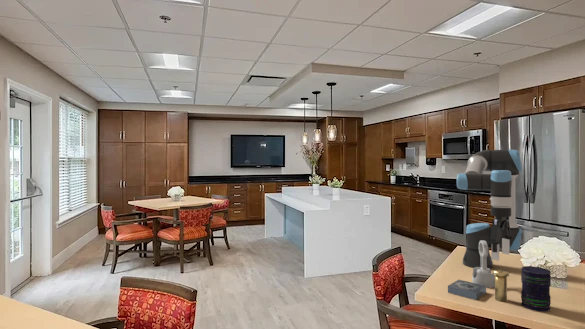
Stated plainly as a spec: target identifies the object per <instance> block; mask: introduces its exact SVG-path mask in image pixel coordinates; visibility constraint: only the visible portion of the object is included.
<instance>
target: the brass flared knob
mask: <svg viewBox="0 0 585 329" xmlns="http://www.w3.org/2000/svg"><path fill="white" fill-rule="evenodd" d="M492 274H494V275H495V287H494V300H496V301H498V302H501V303H502V302H503V303H504V302H507V301H508V277H509V276H510V272H509V270H505V269H500V268H498V269H497V268H496V269H493V270H492Z"/></svg>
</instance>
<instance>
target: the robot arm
mask: <svg viewBox="0 0 585 329" xmlns="http://www.w3.org/2000/svg"><path fill="white" fill-rule="evenodd" d="M466 164H467V165H466V166H467V168H466V170H465V171H464V172H463V173H458V174H457V175H456V188H457V189H458V190H465V191H490V198H489V201H490V205H491V207H490V215H491V216H493V217H495V219H492V224H491V225H490V224H489V223H488V222H486V223H485V222H477V223H476V222H475V223H474V222H473V223H470V224H467V225H466V228H465V229H466V230H465V235H466V236H465V238H466V239H465V252H464V254H463V257H462V265H465V266H467V267H470V268H475V267H481V258H480V254H479V242H480V241H481V240H483V241H486V242H487V245H488V256H487V268H489V269H492V268H493V267H494V263H493V261H500V250H501V254H504V255H509V256H510V251H518V250H519V249H520V246H521V241H522V240H521V239H522V234H523V229H521V228H520V225H519V224H518V223H516V188H517V187H516V186H517V184H516V182H517V181H516V178H518V176H520V175H519V174H520V173H522V172H523V166H522V160H521V154H520V151H519V150H517V149H485V150H481V151H478V152H476V153H474V154H473V155H470V157H469V158H468V160H467V163H466ZM483 172H491V173H483ZM490 249H491V253H490Z"/></svg>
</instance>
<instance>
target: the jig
mask: <svg viewBox="0 0 585 329" xmlns="http://www.w3.org/2000/svg"><path fill="white" fill-rule="evenodd" d="M447 293H448V294H453V295H456V296H459V297H463V298H467V299H471V300H476V301H477V300H479V299H480V298H481V297H483V296H484V295H485V294H487V287H486V286H484V285H480V284H475V283H472V281H466V280H462V279H457V280H456V281H454V282H452V283H450V284H449V285H447Z"/></svg>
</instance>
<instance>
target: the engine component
mask: <svg viewBox="0 0 585 329" xmlns="http://www.w3.org/2000/svg"><path fill="white" fill-rule="evenodd" d="M479 254H480V258H481V267H475V268H474V267H472V275H471V283H475V284H480V285H484V286H486V288H489V289H490V288H495V275H494V274H493V273H492V270H491V268H487V256H488V245H487V242H486V241H483V240H481V241H480V242H479Z"/></svg>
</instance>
